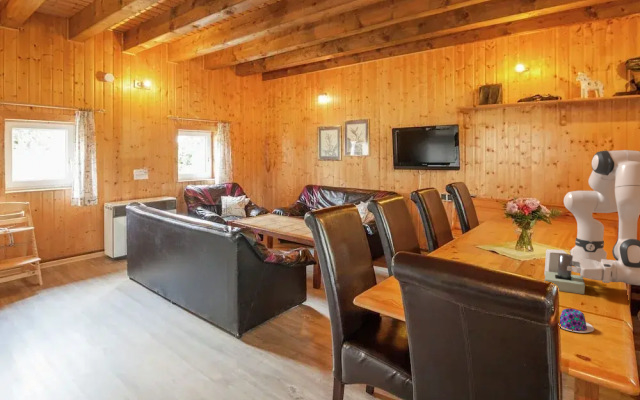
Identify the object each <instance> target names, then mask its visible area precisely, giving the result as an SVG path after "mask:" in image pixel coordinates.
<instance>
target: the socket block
mask: <svg viewBox="0 0 640 400" xmlns="http://www.w3.org/2000/svg"><path fill="white" fill-rule="evenodd" d="M544 273H545V275H544V282H545V281H548V282H552V283H554V284H556V285H557V286H558V288H559V291H560V292H565V293H571V294H579V295H585V287H586V284H585V281H584V277H581V275H579V274H578V275H577V274H571V281H570V280H563V279H557V275H558V273H556V272H548V271H545V270H544ZM559 291H558V292H559Z"/></svg>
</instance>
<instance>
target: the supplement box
mask: <svg viewBox="0 0 640 400" xmlns="http://www.w3.org/2000/svg"><path fill="white" fill-rule="evenodd" d="M559 254H568V253H567V252H566V251H565V250H563V249H548V248H546V250H545V259H544V260H545V262H544V273H543V274H544V276H545V271H548V272H556V273H558V262H559Z"/></svg>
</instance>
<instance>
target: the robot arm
mask: <svg viewBox="0 0 640 400" xmlns="http://www.w3.org/2000/svg"><path fill="white" fill-rule="evenodd" d="M591 159H592V160H591V169H592V170H591V173H590V175H589V177H588V179H587V180H588V181H587V182H588V186H589V187H590V188H591V189H592V190H573V191H568V192H566V194H565V195H564V197H563V205H564V207H565V208H566V210H568V211H569V212H570V213H571V214H572V215H573V217H574V218H575V221H576V223H577V224H576V225H577V226H576V227H577V228H576V229H577V231H576V232H577V233H576V237H575V240H574V242H575V245H574V247H572V248H571V249H570V250H569V255H572V256H573V260H572V266H567V270H568V271H572V272H573V273H576V274H580V275H579V276H581V277H583V279H584V278H585V279H589V280H593V281H602V283H604V284H605V283H607V284H609V283H611V282H613V283H624V284H626V285H635V286H640V240H639V239H638V220H639V217H640V150H639V151H638V150H630V149H629V150H628V149H623V150H622V149H621V150H600V151H597V152H596V153H594V154H593V157H592V158H591ZM616 212H617V216H618V230H617V239H616V242H615V244H614V245H613V247H612V251H611V254H612V256H613V258H614V259H607V257H608V252H607V251H606V250H605V249H604V246H605V241H604V235H605V234H604V233H605V226H604V224H603V223H602V222H601V221H600V220H598V219H596V218H594V217H593V213H599V214H601V213H602V214H604V213H605V214H609V213H616Z"/></svg>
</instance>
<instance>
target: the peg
mask: <svg viewBox="0 0 640 400" xmlns="http://www.w3.org/2000/svg"><path fill="white" fill-rule="evenodd" d="M572 260H573V256H572V255H571V254H570V253H567V254H559V262H558V275H557V279H563V280H570V281H571V275H572V272H573V271H568V270H567V266H572ZM572 267H573V266H572Z"/></svg>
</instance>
